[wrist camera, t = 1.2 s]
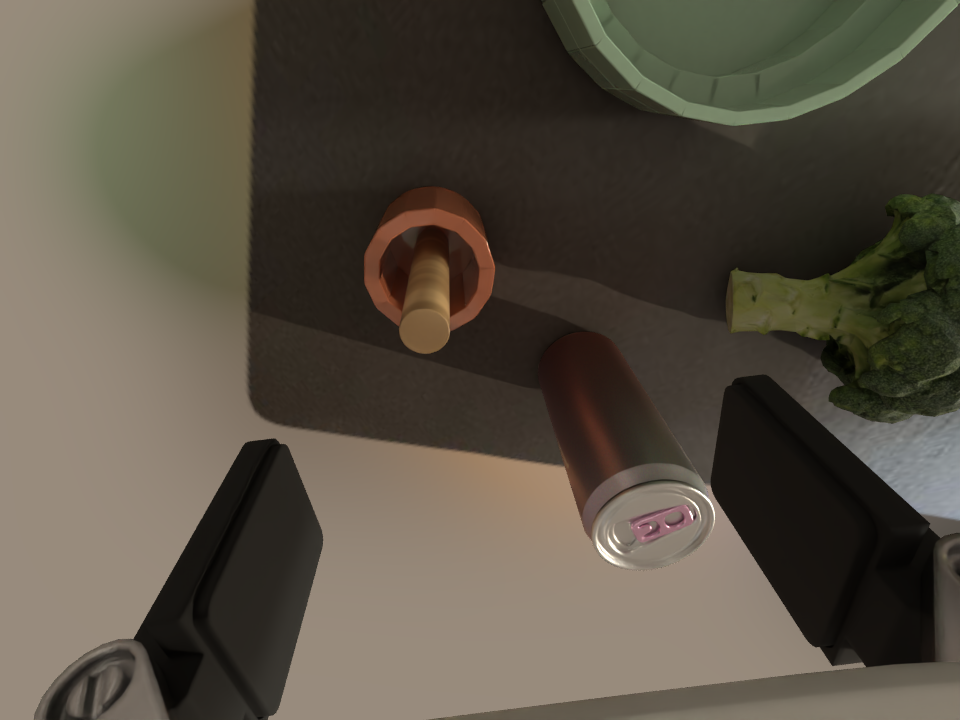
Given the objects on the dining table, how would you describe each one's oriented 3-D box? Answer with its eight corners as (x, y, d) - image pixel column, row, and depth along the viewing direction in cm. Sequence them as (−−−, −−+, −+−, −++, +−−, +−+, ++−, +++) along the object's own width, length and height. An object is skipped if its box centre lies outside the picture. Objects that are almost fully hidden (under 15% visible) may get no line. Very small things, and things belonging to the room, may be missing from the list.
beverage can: (629, 378, 36) (733, 546, 23) (555, 410, 37) (613, 588, 24) (602, 312, 33) (701, 461, 20) (522, 350, 34) (568, 514, 21)
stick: (413, 229, 29) (394, 311, 19) (446, 226, 29) (446, 305, 19) (418, 262, 30) (403, 356, 20) (450, 258, 30) (452, 351, 20)
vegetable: (760, 153, 27) (1145, 161, 21) (724, 250, 38) (966, 270, 33) (723, 369, 25) (1131, 435, 20) (698, 401, 37) (948, 447, 32)
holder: (366, 192, 29) (349, 217, 23) (481, 179, 29) (489, 201, 23) (388, 297, 32) (377, 339, 27) (491, 285, 32) (500, 325, 27)
